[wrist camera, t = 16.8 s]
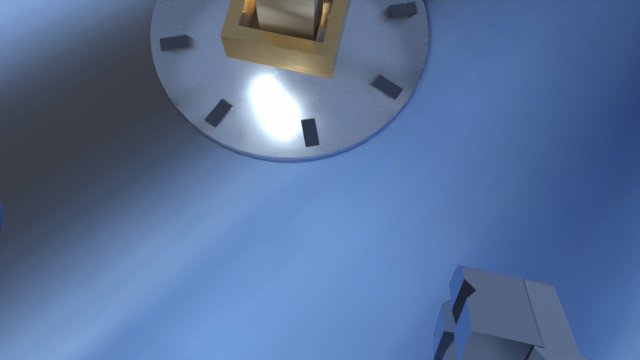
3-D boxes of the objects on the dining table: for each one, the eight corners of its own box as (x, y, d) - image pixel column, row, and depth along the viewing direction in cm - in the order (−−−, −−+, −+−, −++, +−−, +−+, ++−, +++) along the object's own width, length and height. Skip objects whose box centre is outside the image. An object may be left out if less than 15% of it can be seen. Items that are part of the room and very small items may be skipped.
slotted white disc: (444, -49, 44) (457, -89, 40) (400, 190, 38) (411, 172, 34) (198, -98, 45) (187, -141, 41) (118, 129, 39) (96, 105, 35)
